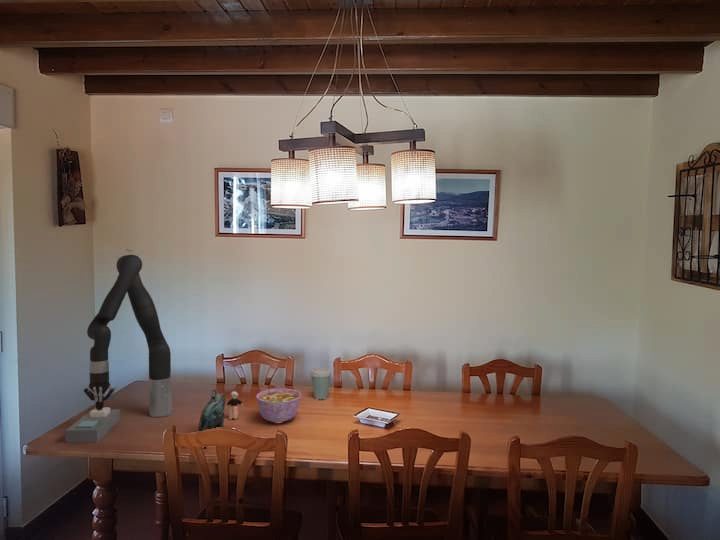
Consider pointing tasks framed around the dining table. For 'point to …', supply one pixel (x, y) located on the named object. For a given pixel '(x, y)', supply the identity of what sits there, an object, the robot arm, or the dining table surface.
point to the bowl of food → (278, 404)
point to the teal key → (87, 424)
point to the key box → (92, 433)
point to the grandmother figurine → (234, 405)
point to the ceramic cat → (213, 412)
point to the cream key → (100, 412)
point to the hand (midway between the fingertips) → (99, 409)
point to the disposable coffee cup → (320, 382)
